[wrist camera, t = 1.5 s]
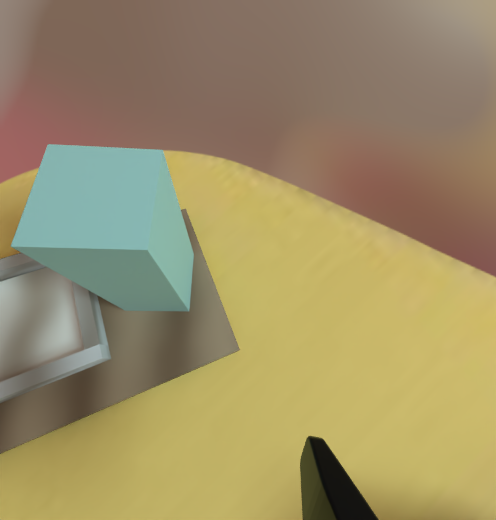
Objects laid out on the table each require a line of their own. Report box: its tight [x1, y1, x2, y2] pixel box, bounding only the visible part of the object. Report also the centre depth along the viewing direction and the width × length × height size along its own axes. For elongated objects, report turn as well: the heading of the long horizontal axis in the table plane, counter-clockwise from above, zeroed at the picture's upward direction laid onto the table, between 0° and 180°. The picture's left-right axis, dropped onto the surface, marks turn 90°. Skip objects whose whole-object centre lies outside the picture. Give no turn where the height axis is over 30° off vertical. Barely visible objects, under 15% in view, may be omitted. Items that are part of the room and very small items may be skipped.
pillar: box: [11, 144, 194, 311], centre depth 17 cm, size 5×5×12 cm
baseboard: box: [0, 209, 240, 454], centre depth 20 cm, size 21×14×2 cm, turn 113°
